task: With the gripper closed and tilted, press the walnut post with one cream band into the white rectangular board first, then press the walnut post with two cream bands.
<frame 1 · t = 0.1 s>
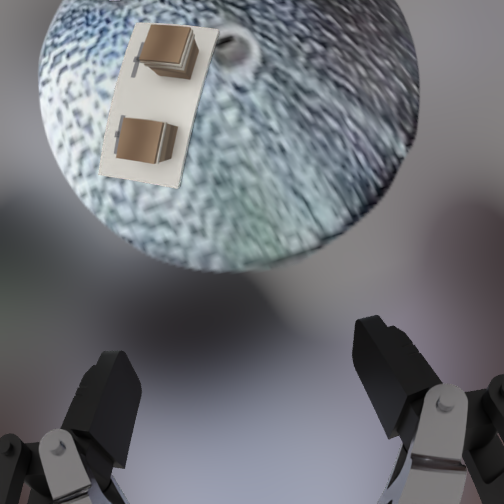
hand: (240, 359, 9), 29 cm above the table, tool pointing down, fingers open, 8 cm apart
one band post: (149, 140, 28), point 6 cm above the table, slide at 0.0 cm
white rectangular board: (156, 100, 31), on the table
two band post: (172, 53, 24), point 6 cm above the table, slide at 0.0 cm
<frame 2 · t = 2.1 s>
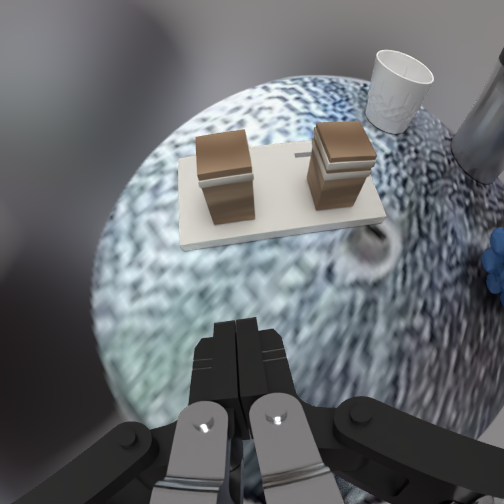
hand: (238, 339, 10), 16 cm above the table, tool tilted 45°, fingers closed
grapes: (486, 293, 25), on the table
white cup: (386, 119, 35), on the table
one band post: (227, 180, 25), point 6 cm above the table, slide at 0.0 cm
white rectangular board: (277, 190, 31), on the table
two band post: (337, 167, 25), point 6 cm above the table, slide at 0.0 cm
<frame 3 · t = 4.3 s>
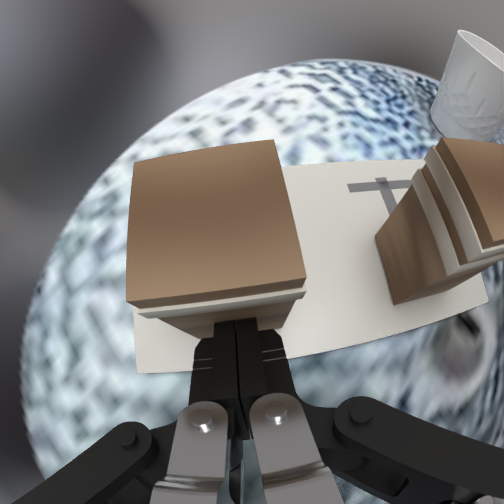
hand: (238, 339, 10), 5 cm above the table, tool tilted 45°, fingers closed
white cup: (456, 129, 21), on the table
one band post: (225, 266, 10), point 6 cm above the table, slide at 0.0 cm, touching gripper
white rectangular board: (319, 255, 17), on the table
two band post: (450, 232, 11), point 6 cm above the table, slide at 0.0 cm
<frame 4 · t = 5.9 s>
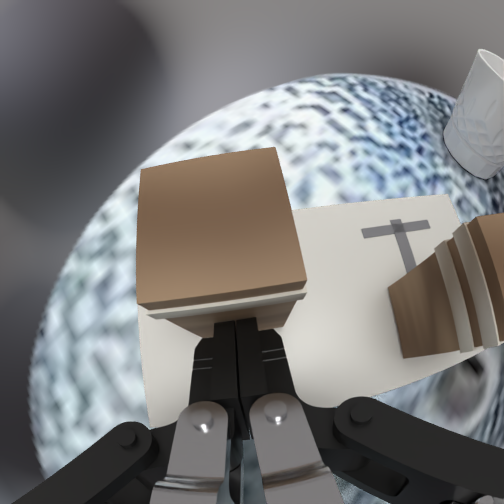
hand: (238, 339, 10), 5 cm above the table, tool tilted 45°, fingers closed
white cup: (468, 152, 21), on the table
one band post: (228, 268, 11), point 6 cm above the table, slide at 3.1 cm
white rectangular board: (330, 305, 16), on the table
two band post: (467, 296, 10), point 6 cm above the table, slide at 0.0 cm
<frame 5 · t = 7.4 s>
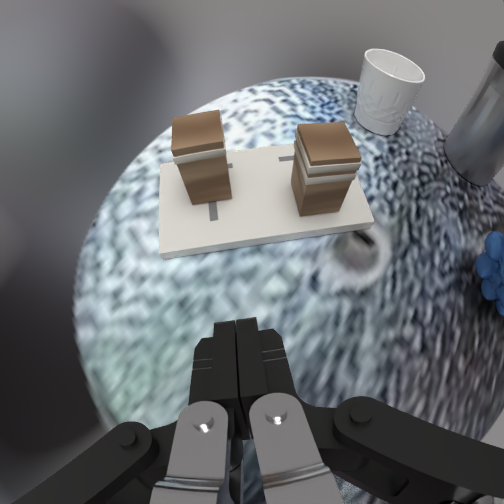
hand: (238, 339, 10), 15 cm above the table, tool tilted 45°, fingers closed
grapes: (481, 300, 25), on the table
white cup: (376, 120, 35), on the table
one band post: (204, 159, 25), point 6 cm above the table, slide at 3.1 cm
white rectangular board: (261, 195, 30), on the table
two band post: (321, 171, 24), point 6 cm above the table, slide at 0.0 cm
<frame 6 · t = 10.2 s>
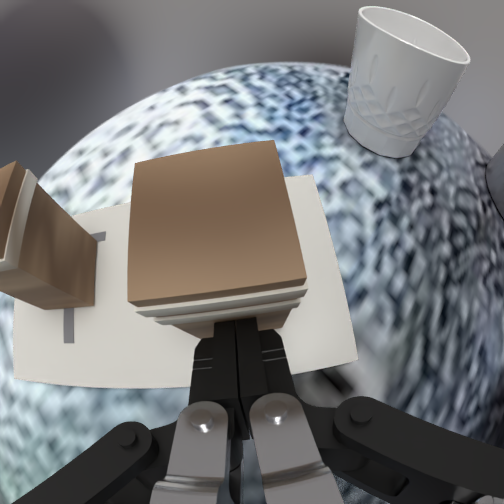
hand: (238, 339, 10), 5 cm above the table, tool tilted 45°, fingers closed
white cup: (380, 130, 21), on the table
one band post: (28, 250, 11), point 6 cm above the table, slide at 3.1 cm
white rectangular board: (151, 292, 16), on the table
two band post: (225, 266, 11), point 6 cm above the table, slide at 0.8 cm, touching gripper
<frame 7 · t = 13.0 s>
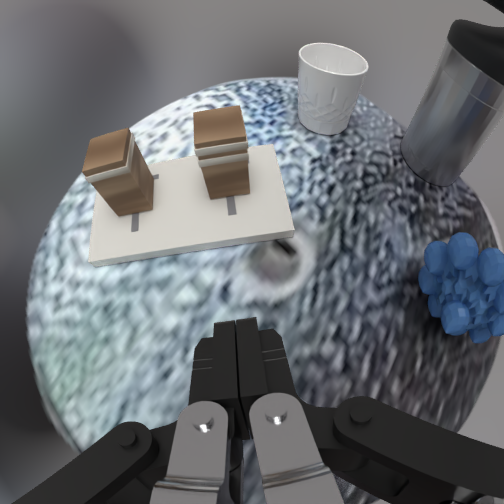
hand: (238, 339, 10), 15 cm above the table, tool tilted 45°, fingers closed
grapes: (428, 316, 25), on the table
white cup: (322, 119, 35), on the table
one band post: (121, 175, 25), point 6 cm above the table, slide at 3.1 cm
white rectangular board: (184, 205, 30), on the table
two band post: (223, 154, 25), point 6 cm above the table, slide at 3.1 cm
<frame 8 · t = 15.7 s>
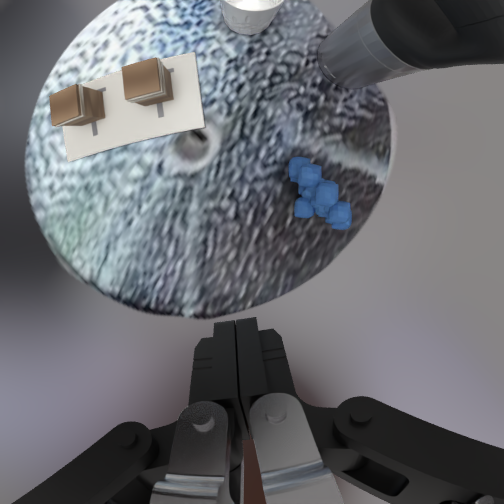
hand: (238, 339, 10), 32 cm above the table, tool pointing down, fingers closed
grapes: (302, 189, 41), on the table
white cup: (247, 17, 30), on the table
one band post: (78, 107, 28), point 6 cm above the table, slide at 3.1 cm
white rectangular board: (127, 106, 34), on the table
two band post: (149, 84, 28), point 6 cm above the table, slide at 3.1 cm
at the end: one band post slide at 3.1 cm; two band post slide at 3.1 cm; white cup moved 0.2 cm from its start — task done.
